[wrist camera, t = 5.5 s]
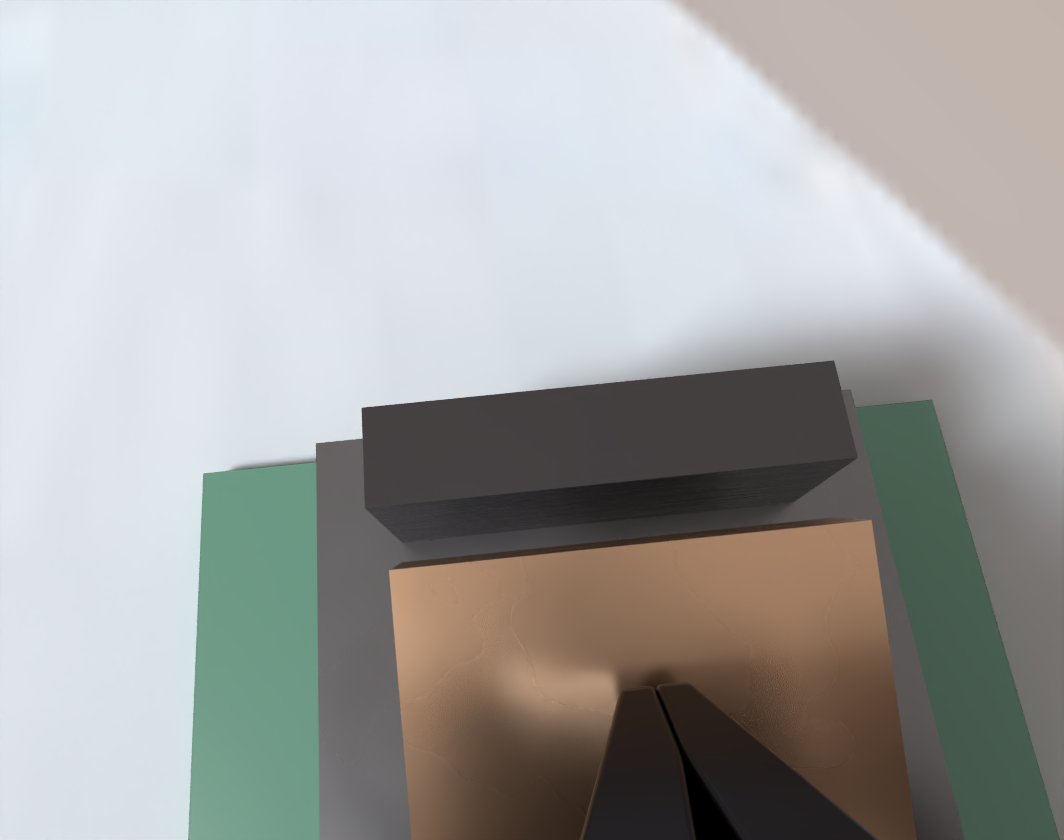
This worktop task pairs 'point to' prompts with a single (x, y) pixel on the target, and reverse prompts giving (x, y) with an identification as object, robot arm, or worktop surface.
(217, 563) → the board
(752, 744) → the robot arm
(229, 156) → the worktop surface
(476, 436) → the grey open box
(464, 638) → the brown rectangular board
